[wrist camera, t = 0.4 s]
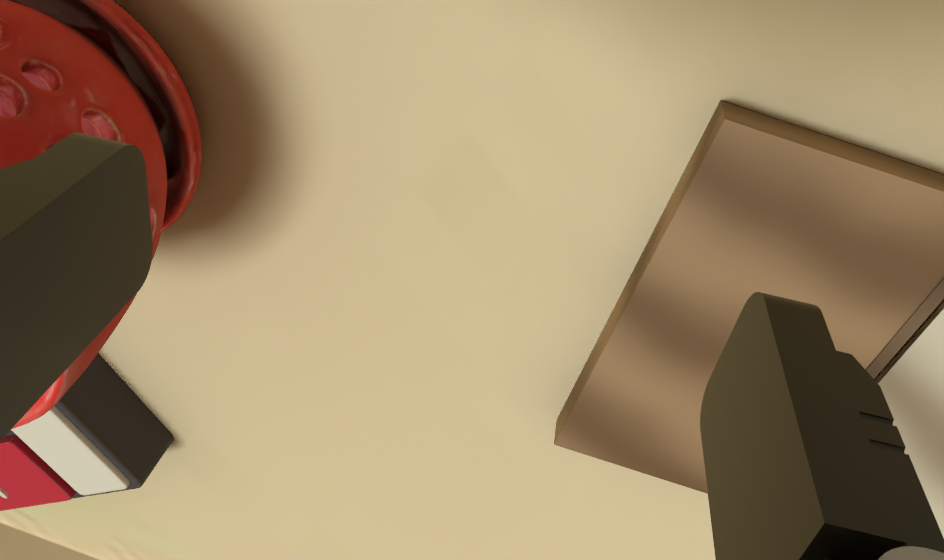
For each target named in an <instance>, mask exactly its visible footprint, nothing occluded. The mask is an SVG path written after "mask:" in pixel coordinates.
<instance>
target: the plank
mask: <svg viewBox="0 0 944 560" xmlns="http://www.w3.org/2000/svg"><path fill="white" fill-rule="evenodd" d="M875 381H876V382H877V383H878V385H879V386H880V387H881V390H882V392H883V394H884V397H885V399H886V402H887V404H888V406H889V409H890V411H891V413H892V416H893V418H894V421H893V425H894V426H897V428H898V430H899V433H900V435H901V437H902V440H903V442H904V445H905V447H906V448H905V451H904V453H905V454H908V455H909V456H910V459H911V461H912V464H913V466H914V468H915V471H916V473H917V476H918V478H919V480H920V483H921V485H922V488H923V490H924V492H925V495H926V497H927V499H928V502H929V504H930V507H931V509H932V511H933V514H934V516H935V519H936V521H937V523H938V526H939V528H940V531H941V533H942V535H943V538H944V302H943V303H942V305H941V306H940V307H939V308H938V309H937V310H936V312H935V313H934V314H933V315H932V316H931V317H930V318H929V320H928V321H927V322H926V323H925V324H924V325H923V326H922V328H921V329H920V330H919V331H918V332H917V333H916V334H915V336H914V337H913V338H912V339H911V340H910V341H909V343H908V344H907V345H906V346H905V347H904V348H903V349H902V351H901V352H900V353H899V354H898V355H897V356H896V357H895V359H894V360H893V361H892V362H891V363H890V364H889V366H888V367H887V368H886V369H885V370H884V371H883V372H882V374H881V375H880V376H879V377H878V378H877V379H876V380H875Z"/></svg>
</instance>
